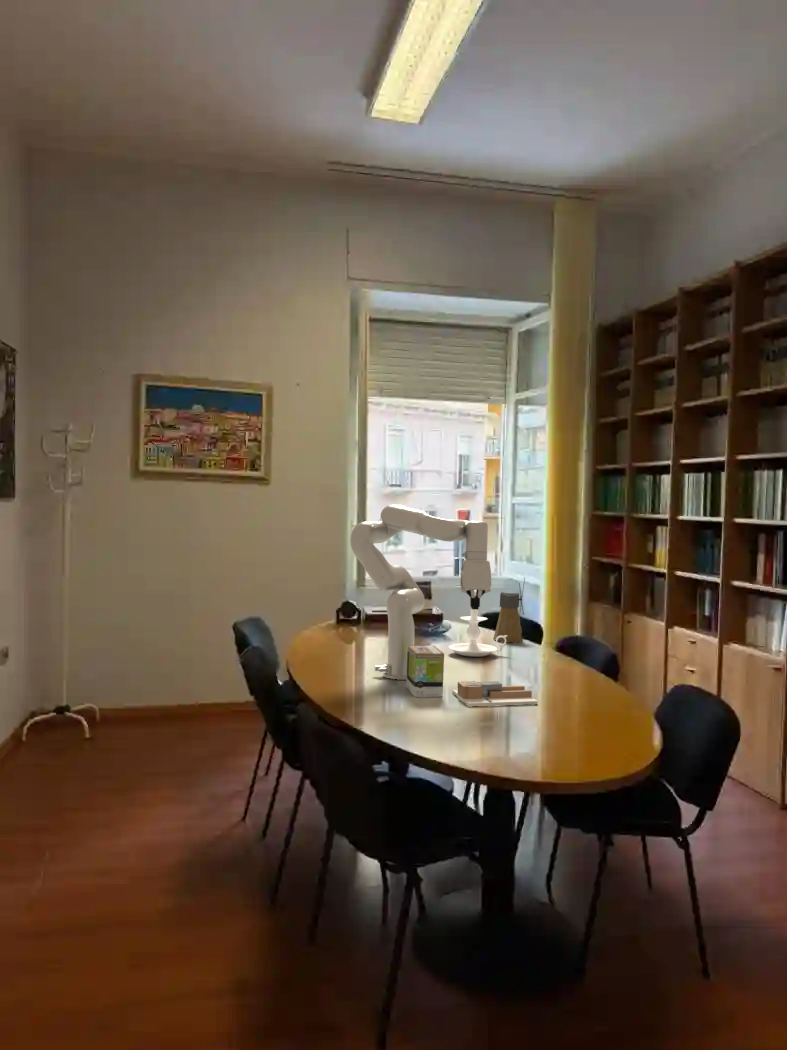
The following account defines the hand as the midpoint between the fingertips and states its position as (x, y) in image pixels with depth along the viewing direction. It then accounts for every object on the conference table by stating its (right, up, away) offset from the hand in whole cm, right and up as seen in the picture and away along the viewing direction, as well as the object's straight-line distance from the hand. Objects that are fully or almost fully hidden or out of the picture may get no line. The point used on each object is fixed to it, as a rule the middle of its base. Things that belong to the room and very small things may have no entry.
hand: (474, 609), depth 281 cm
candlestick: (+7, -26, +58) cm, 63 cm away
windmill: (+25, -25, +95) cm, 101 cm away
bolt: (+1, -26, -17) cm, 32 cm away
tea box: (-18, -27, -9) cm, 34 cm away
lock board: (+5, -28, -16) cm, 33 cm away
